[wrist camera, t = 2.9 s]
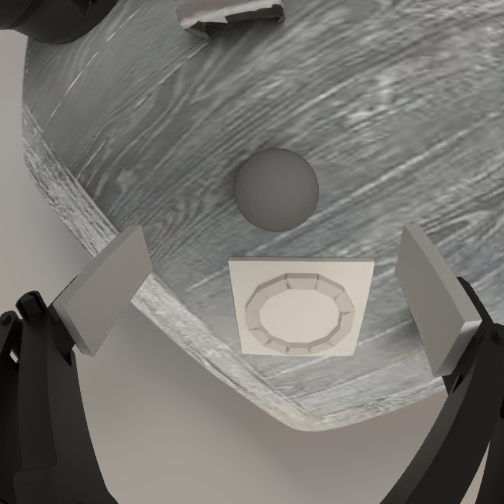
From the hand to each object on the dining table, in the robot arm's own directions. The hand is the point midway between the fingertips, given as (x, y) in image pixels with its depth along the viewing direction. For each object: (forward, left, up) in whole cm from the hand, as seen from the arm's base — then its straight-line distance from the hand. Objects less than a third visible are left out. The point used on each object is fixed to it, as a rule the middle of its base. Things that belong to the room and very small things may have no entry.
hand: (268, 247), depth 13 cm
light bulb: (0, 0, -15) cm, 15 cm away
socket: (+2, -18, -15) cm, 23 cm away
